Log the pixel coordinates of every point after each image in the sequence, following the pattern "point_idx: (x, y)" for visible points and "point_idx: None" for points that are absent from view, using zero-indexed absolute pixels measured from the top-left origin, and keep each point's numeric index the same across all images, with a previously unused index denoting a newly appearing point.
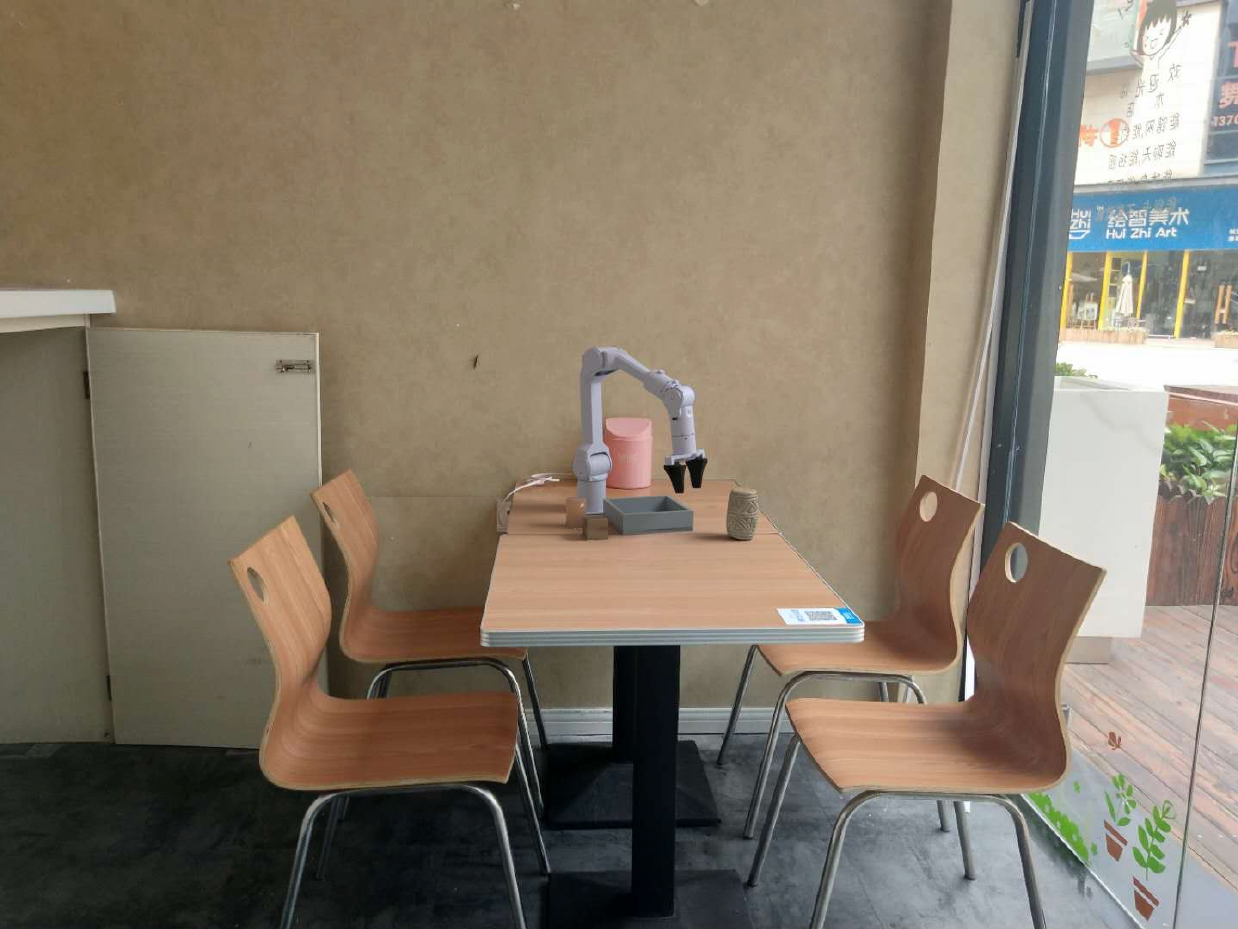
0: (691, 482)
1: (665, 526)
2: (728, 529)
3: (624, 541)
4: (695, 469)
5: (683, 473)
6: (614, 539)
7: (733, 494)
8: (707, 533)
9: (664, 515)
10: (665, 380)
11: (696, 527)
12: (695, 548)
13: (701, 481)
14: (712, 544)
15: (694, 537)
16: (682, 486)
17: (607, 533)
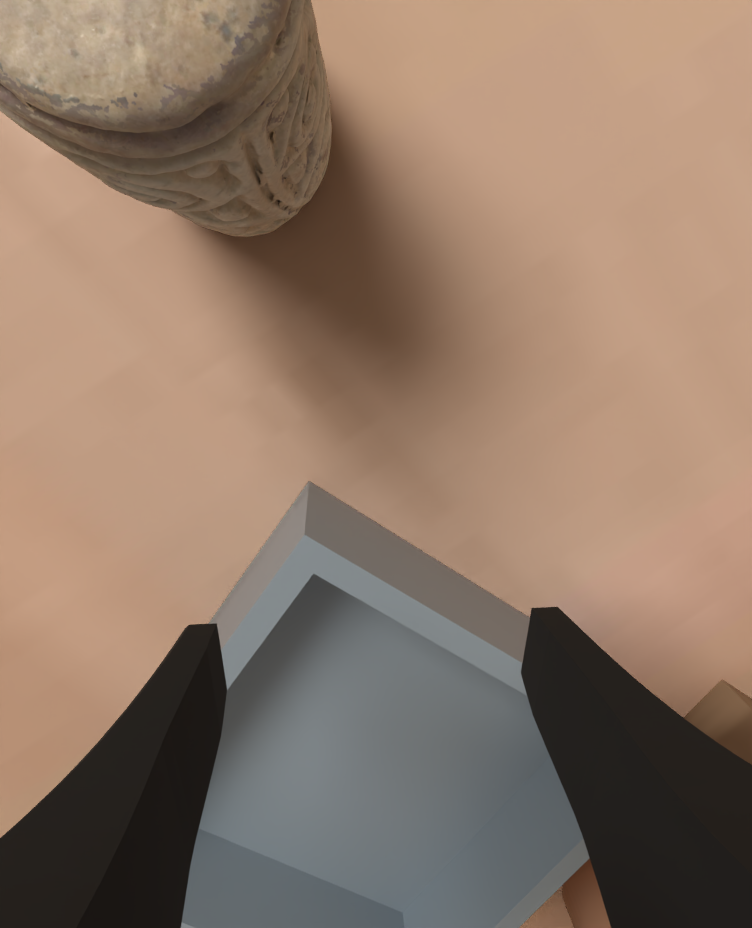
0: (216, 752)
1: (457, 585)
2: (323, 174)
3: (714, 609)
4: (157, 885)
5: (705, 780)
6: (706, 661)
7: (293, 13)
8: (298, 378)
9: (481, 629)
10: None
11: (228, 507)
12: (643, 240)
13: (168, 669)
14: (503, 202)
15: (431, 387)
16: (600, 650)
17: (745, 702)
